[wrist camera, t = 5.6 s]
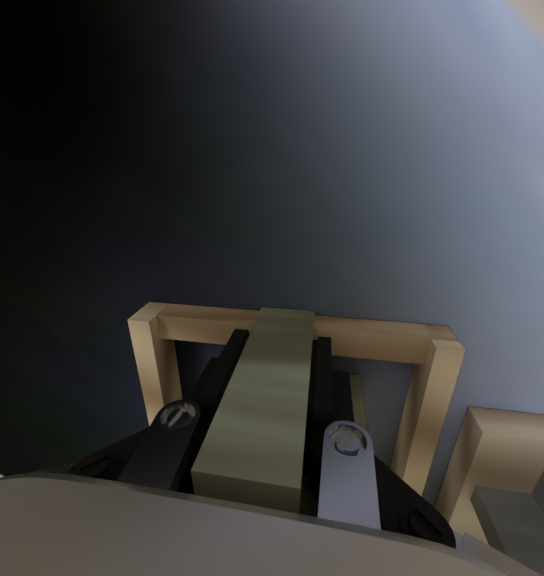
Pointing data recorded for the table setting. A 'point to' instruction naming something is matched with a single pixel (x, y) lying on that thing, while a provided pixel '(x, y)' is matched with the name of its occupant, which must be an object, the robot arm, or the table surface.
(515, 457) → the beige l-shaped piece
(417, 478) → the wooden frame with block
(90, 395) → the table surface
